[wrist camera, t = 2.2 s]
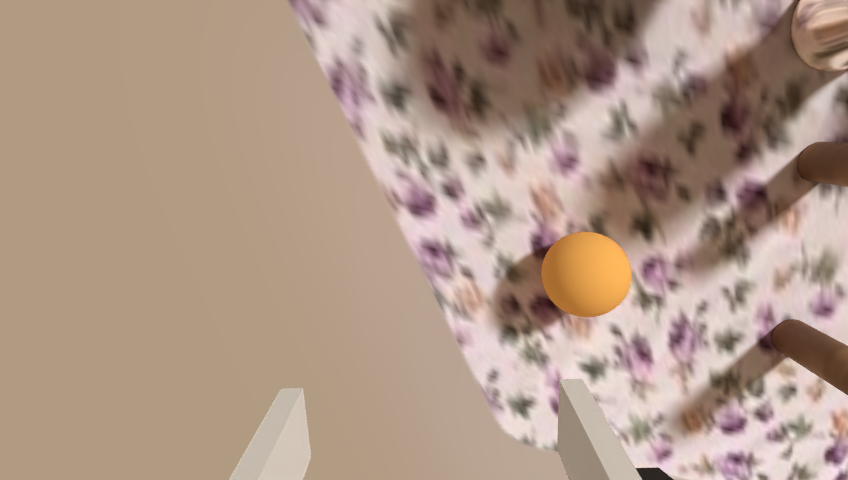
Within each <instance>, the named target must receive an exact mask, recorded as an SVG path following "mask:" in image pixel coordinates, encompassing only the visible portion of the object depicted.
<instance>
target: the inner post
mask: <svg viewBox="0 0 848 480" xmlns="http://www.w3.org/2000/svg"><path fill="white" fill-rule="evenodd" d="M797 167H798V172H799V174H800V175H801V177H802V178H804V179H805V180H808V181H812V182H819V183H826V184H833V185H840V186H847V187H848V143H835V142H817V143H814V144H812V145H810V146H808V147H807V148H806V149H805V150H804V151H803V152H802V153H801V155H800V157H799V159H798V164H797Z"/></svg>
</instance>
